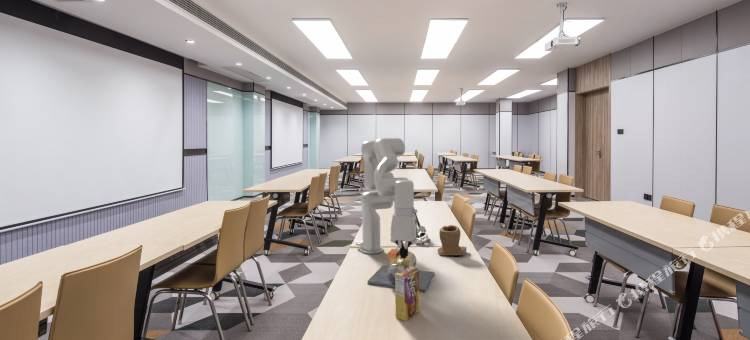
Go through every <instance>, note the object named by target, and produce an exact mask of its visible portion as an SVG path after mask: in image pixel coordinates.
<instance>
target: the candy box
mask: <svg viewBox="0 0 750 340" xmlns="http://www.w3.org/2000/svg"><path fill="white" fill-rule="evenodd" d="M419 270H420V269H419V268H417V267H415V266H414V267H408V268H406V269H404V270H402V271H400V272H398V273H396V274H395V288H394V290H395V291H394V292H395V293H394V299H395V301H394V302H395V319H398V320H400V321H401V320H402V321H404V322H406V321H408V320H410V318H412V317H413V316H415V315H416V314H417V313H419V312H420V292H419Z"/></svg>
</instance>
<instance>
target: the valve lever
mask: <svg viewBox="0 0 750 340" xmlns="http://www.w3.org/2000/svg"><path fill="white" fill-rule="evenodd" d="M403 245H404V247H405V242H403ZM399 256H400V248H399V246H398V245H397V247H395V248H392V249H390V250H389V251H388V252H387V258H388V259H390V258H392V259H396V258H398V257H399Z"/></svg>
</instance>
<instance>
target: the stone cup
mask: <svg viewBox="0 0 750 340" xmlns="http://www.w3.org/2000/svg"><path fill="white" fill-rule="evenodd" d="M438 233H439V239H440V243H441V246H440V247H438V248H437V250H436V251H437V253H438V254H439V255H441V256H465V255H466V253H467V246H460V240H461V236H462V235H461V233H462V232H461V229H460V228H459V226H458V225H457V226H456V225H454V224H449V225H443V226H442V227H440V228H439V232H438Z"/></svg>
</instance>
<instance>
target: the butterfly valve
mask: <svg viewBox="0 0 750 340" xmlns="http://www.w3.org/2000/svg"><path fill="white" fill-rule="evenodd" d="M414 215H416V219H417V229H418V237H417V242H418V243H417V244H421V245H422V244H423V243H424V242H427V241H428V240H429V235H428V232H427V229H426V227H425V226H424V225H421V224H420V221H419V218H418V215H417V213H414Z"/></svg>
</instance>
